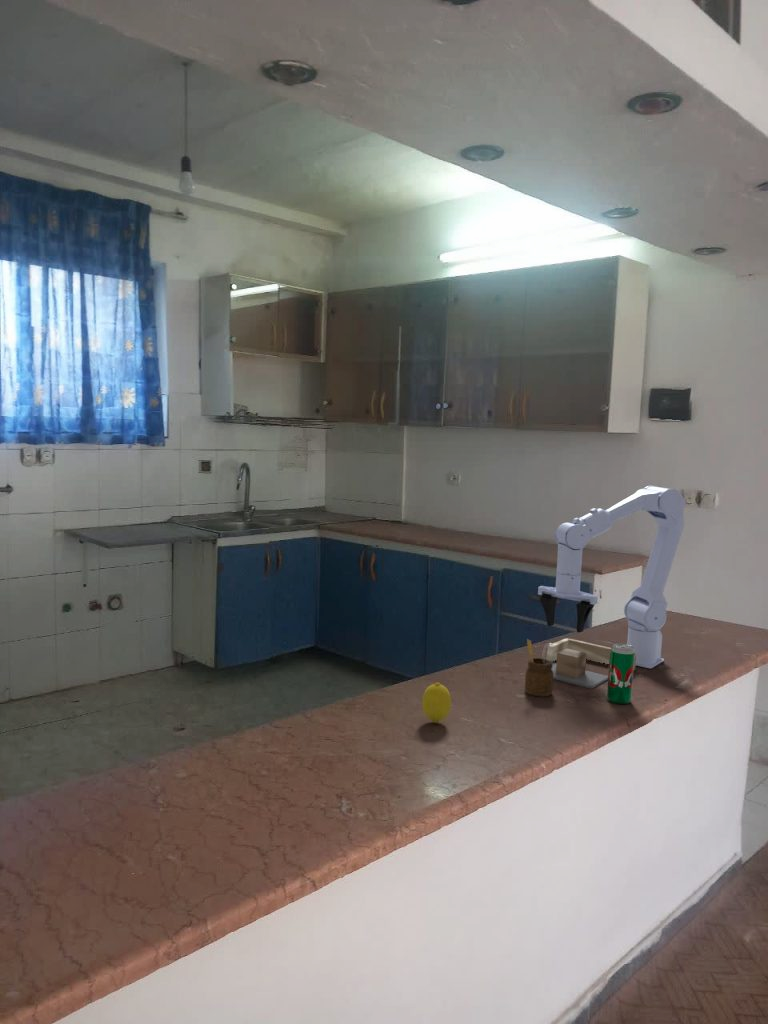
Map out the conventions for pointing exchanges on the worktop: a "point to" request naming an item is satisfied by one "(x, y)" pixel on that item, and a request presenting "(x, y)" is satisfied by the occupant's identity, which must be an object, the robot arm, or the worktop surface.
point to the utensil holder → (539, 675)
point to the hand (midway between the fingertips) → (565, 628)
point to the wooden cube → (571, 663)
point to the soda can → (620, 673)
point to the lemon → (436, 702)
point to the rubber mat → (581, 678)
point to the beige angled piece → (582, 650)
